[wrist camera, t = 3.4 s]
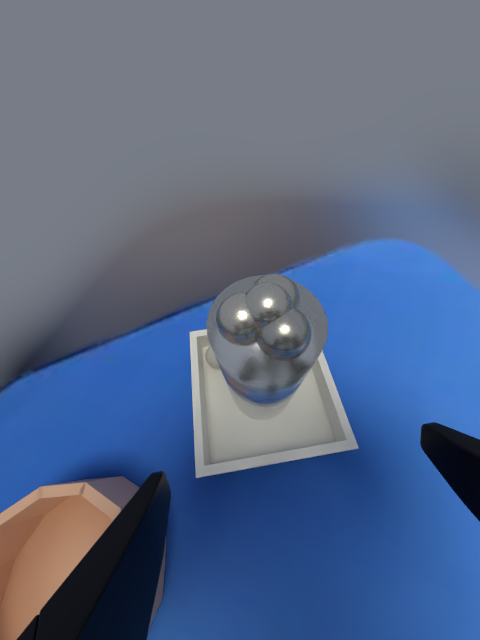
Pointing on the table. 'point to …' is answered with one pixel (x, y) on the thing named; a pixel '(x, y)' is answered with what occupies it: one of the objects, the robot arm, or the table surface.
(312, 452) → the tray
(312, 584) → the table surface
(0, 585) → the bowl
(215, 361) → the pebble
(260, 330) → the silver ball-topped cylinder
